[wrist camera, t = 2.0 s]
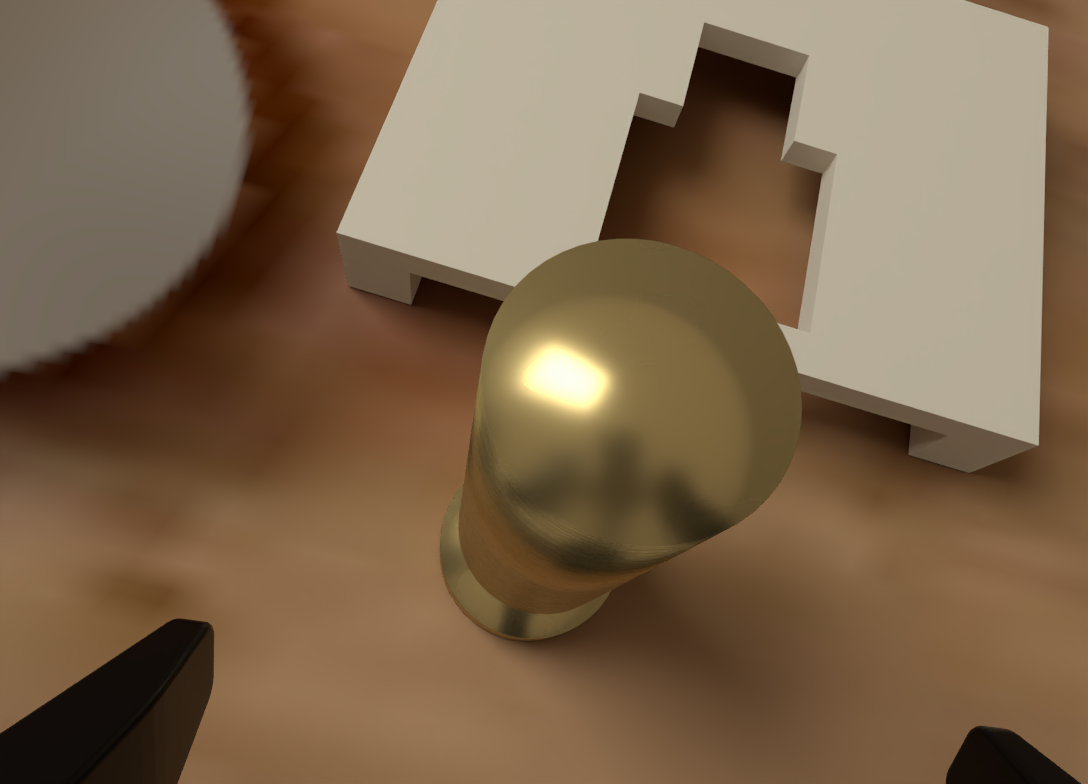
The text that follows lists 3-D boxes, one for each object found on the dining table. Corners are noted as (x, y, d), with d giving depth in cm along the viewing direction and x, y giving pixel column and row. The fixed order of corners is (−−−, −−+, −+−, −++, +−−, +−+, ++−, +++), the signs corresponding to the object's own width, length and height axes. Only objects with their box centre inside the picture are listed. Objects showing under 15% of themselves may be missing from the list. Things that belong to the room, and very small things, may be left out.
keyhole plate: (968, 473, 24) (1038, 445, 21) (347, 285, 24) (336, 232, 21) (991, 87, 30) (1048, 27, 27) (495, -70, 30) (502, -148, 27)
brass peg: (644, 535, 22) (897, 359, 10) (544, 679, 20) (701, 674, 8) (512, 433, 23) (600, 149, 11) (403, 565, 21) (360, 405, 9)
